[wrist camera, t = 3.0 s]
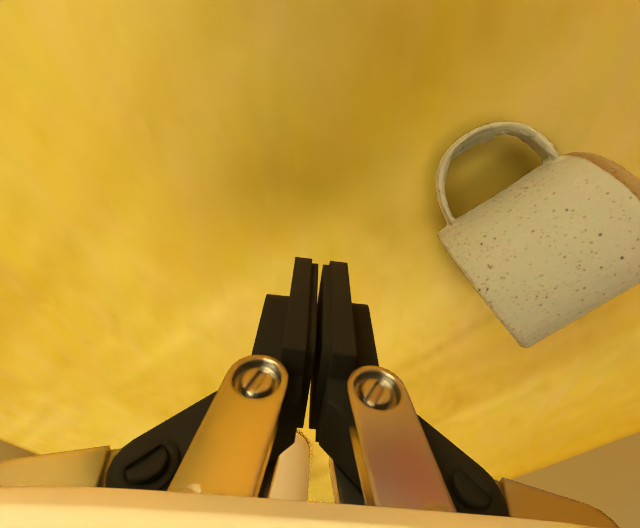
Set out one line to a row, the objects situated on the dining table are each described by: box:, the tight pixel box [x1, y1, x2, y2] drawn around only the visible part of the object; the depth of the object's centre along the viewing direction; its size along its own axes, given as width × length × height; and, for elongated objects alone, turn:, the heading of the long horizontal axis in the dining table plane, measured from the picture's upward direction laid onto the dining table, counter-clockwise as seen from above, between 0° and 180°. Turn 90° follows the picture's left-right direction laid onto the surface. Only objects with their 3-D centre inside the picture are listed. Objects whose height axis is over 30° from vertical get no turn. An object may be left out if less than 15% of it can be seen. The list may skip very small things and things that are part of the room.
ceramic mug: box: [435, 121, 640, 348], centre depth 17 cm, size 11×8×8 cm
